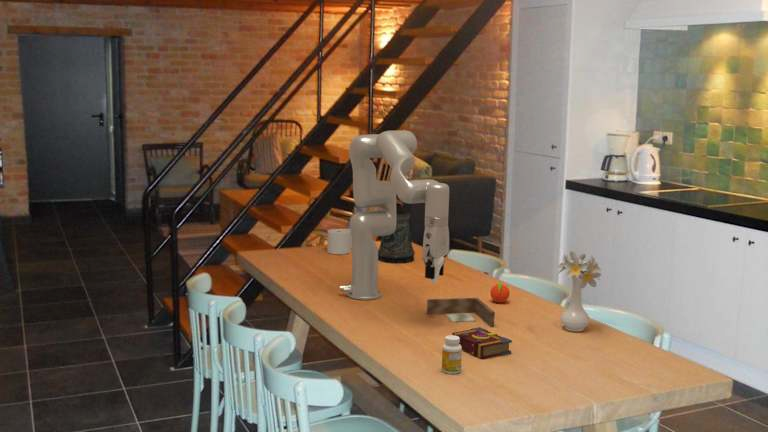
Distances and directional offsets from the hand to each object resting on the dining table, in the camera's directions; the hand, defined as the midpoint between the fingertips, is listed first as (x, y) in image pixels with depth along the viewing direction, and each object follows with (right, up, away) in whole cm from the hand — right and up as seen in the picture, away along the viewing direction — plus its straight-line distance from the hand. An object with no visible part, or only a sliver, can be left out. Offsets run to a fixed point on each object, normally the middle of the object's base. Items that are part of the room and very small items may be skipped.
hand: (434, 276), depth 273 cm
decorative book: (+13, -21, -19) cm, 31 cm away
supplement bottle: (+2, -24, -38) cm, 45 cm away
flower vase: (+47, -18, +3) cm, 50 cm away
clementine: (+26, -12, +33) cm, 44 cm away
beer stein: (-12, 0, +101) cm, 102 cm away
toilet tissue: (-37, +3, +115) cm, 121 cm away
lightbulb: (0, -3, 0) cm, 3 cm away
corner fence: (+9, -15, +12) cm, 21 cm away
